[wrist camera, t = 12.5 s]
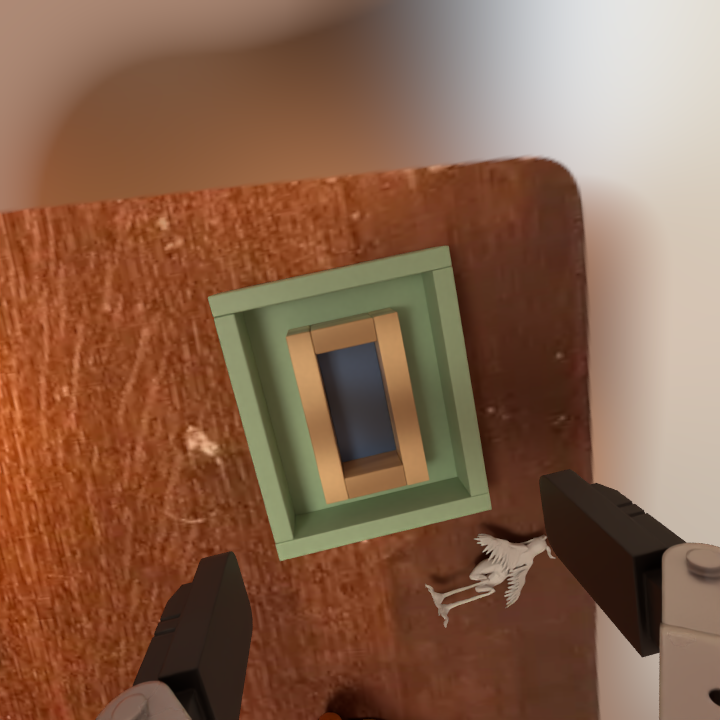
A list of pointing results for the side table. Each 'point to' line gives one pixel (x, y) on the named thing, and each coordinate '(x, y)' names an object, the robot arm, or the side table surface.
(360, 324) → the frame
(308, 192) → the side table surface
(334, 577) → the side table surface
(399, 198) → the side table surface
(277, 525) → the holder
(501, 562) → the figurine
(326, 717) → the mug
